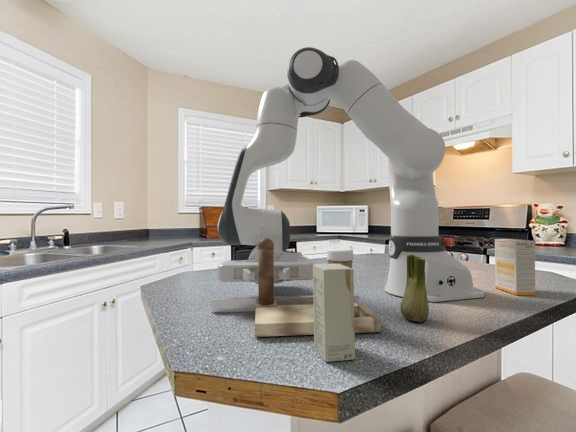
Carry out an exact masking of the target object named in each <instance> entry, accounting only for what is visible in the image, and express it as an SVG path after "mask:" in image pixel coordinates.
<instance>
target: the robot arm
mask: <svg viewBox="0 0 576 432" xmlns="http://www.w3.org/2000/svg"><path fill="white" fill-rule="evenodd" d="M287 81H288V83H287V84H286V85H285V86H282V87H280V86H274V87H270V88H268V89H266V90H265V91H264V93H262V96H261V99H260V103H259V106H258V111H257V115H256V116H257V117H256V123H255V131H254V134H253V138H252V139H251V141H250V142H249V144H246V145H244V146H242V148H241V150H240V151H239V153H238V156H237V160H236V163H235V166H234V170H233V174H232V176H231V180H230V183H229V186H228V191H227V195H226V198H225V202H224V205H223V208H222V211H221V213H220V215H219V219H218V222H217V235H218V237H219V238H220V239H221V240H222V241H223V242H224V243H225V244H226V245H228V246H241V245H243V246H244V245H246V246H255V247H254V248H253V249H252V250H251V251H250V254H249V257H248V258H247V259H246V260H245V259H242V260H241V259H240V260H226V261H222V262H220V263H219V264H218V266H217V280H218V281H219V282H221V283H234V282H235V283H237V282H238V283H240V282H241V283H242V282H247V283H252V282H253V283H255V284H257V285H258V243H259V241H260V240H261V239H263V238H268V239H270V240H272V241H273V243H274V285H275V284H281V283H284V282H292V281H313V265H314V263H313V261H312V260H311V259H309V257H307V256H303V253H302V252H300V251H294V250H293V251H291V250H288V249H289V246H290V241H291V224H290V220H289V219H288V216H287V215H286V213H284V212H283V211H282V210H278V209H277V210H276V209H267V208H264V209H263V208H251V207H244V206H243V205H242V202H243V198H244V194H245V190H246V188H247V184H248V180H249V178H250V176H252V174H253V173H255V172H256V171H258V170H261V169H264V168H268V167H271V166H275V165H278V164H280V163H282V162H285V161H286V160H287V159H289V158H290V156H292V154H293V153H294V151H295V147H296V144H297V135H298V126H299V125H298V121H299V118H305V117H310V116H311V117H313V116H318V115H319V114H322V113H323V112H324V111H325V110H326V109H327V108H328V106H329V104H330V102H331V101H333V102H335V103H336V104H338V105H339V106H340V107H342V109H343V110H344V111H345V113H346V114H347V115H348V117H349V118H350V119H351V120H352V121H353V123H354V124H355V126H356V127H358V129H359V130H360V132H361V133H362V134H363V135H364V136H365V138H366V139H368V141H370V142H372V144H374V145H375V146H376V148H378V149H379V150H380V151H381V152H382V153H383V154H384V155H385V156H386V157H387V158H388V160H387V165H388V167H387V169H388V171H387V172H388V185H389V186H388V187H389V188H388V189H389V198H390V235H388V236H389V237H388V255H389V258H390V259H389V267H388V268H389V269H388V275H387V279H386V283H385V285H384V286H385V287H384V291H385V292H386V293H388V294H391V295H394V296H397V297H402V298H403V297H404V293H405V288H406V283H407V255H415V256H417V257H422V259H425V285H426V293H427V298H428V302H432V303H437V302H439V303H440V302H446V301H447V302H448V301H458V300H469V299H478V298H484V297H485V293H484V292H485V291H483V290H482V289H480V288H478V287H475V286H474V282H473V277H472V273H471V271H470V269H469V268H468V267H467V265H464V264H463V263H462V262H461V261H460V260H458V259H457V258H455V257H454V256H452V255H451V254H450V253H449V252H447V249H446V247H449V248H450V247H451V248H452V247H454V245H456V244H455V243H456V242H455V240H454V238H452V237H451V238H450V237H445V238H443V237H442V236H441V235H439V202H438V199H437V195H436V191H435V190H436V189H435V184H434V172H435V171H437V170H438V169H439V168H440V166H441V164H442V162H443V160H444V159H445V153H446V143H445V141H444V138H443V137H442V135H441V134H440V133H439V132H437V131H436V130H434V129H432V128H429V127H427V126H426V124H424V123H423V122H422V121H420V119H418V118H416V116H414V115H413V114H411V113H410V112H409V111H408V110H406V108H404V106H403V105H402V104H400V102H399V101H398V100H397V99H396V97H395V96H394V95H393V94H392V93H391V92H390V90H388V88H387V87H386V86H385V85H384V84H383V83H382V81H381V80H380V79H379V78H378V77H377V76H376V74H374V73H373V72H372V71H371V70H370V69H368V68H367V67H366V66H365V65H364V64H362V63H361V62H359V61H358V60H355V59H350V60H346V61H344V62H342V63H340V64H339V63H338V59H336V58H335V57H334V56H331V55H329V54H327V53H325V52H324V51H322V50H320V49H318V48H315V47H312V46H311V47H310V46H309V47H308V46H307V47H306V46H305V47H303V48H300V49H297V51H295V52H294V53H293V54H292V56H291V57H290V59H289V62H288V66H287Z"/></svg>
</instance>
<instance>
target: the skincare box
mask: <svg viewBox="0 0 576 432" xmlns="http://www.w3.org/2000/svg"><path fill="white" fill-rule="evenodd" d="M354 279H355V278H354V268H353V267H352V268H350V267H347V266H344V265H341V264H328V263H313V279H312V283H313V284H312V285H313V289H312V290H313V292H312V295H313V296H314V334H313V341H314V342H313V343H314V347H315V348H316V351H318V353H319V355H320V356H321V358H322V360H324V361H325V362H327V363H328V362H337V361H338V362H341V361H342V362H343V361H351V360H352V361H353V360H356V339H355V338H356V336H355V335H356V333H355V327H354V317H355V316H354V294H355V291H354V289H355V287H354V284H355V283H354Z"/></svg>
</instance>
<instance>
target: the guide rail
mask: <svg viewBox="0 0 576 432" xmlns="http://www.w3.org/2000/svg"><path fill="white" fill-rule="evenodd" d="M258 300H259V296H250V297H249V296H248V297H243V296H242V297H217V298H215V297H213V298H212V299H211V313H240V312H243V313H244V312H256V301H258ZM274 300H276V303H277V305H310V304H314V296H313V294H312V295H284V296H282V295H281V296H280V295H279V296H276V295H274ZM354 303H359V295H358V294H356V293H354Z"/></svg>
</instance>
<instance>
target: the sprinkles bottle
mask: <svg viewBox="0 0 576 432" xmlns="http://www.w3.org/2000/svg"><path fill="white" fill-rule="evenodd" d="M326 260H327V264H341V265H344V266H347V267H350V268H352V269H353V260H354V250H353V249H351V248H345V247H333V248H328V249H327V250H326Z"/></svg>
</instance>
